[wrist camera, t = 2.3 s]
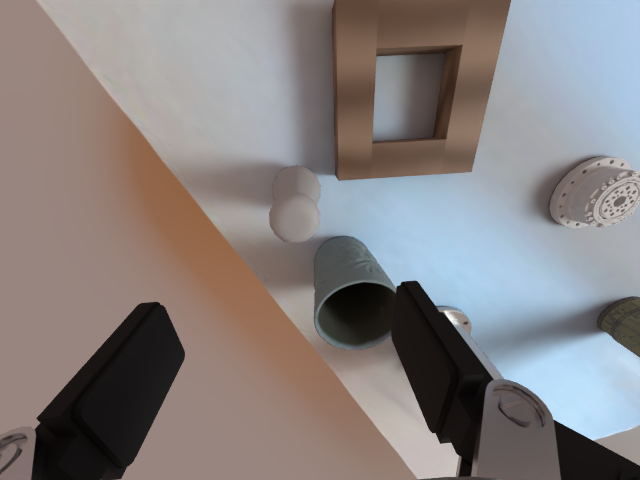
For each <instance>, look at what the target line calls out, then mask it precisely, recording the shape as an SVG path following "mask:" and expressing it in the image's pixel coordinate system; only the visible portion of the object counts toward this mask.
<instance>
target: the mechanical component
mask: <svg viewBox="0 0 640 480" xmlns="http://www.w3.org/2000/svg"><path fill="white" fill-rule="evenodd" d="M639 204H640V172H639V171H633V170H632V168H631V166H630V164H629V163H628V162H627V161H625V160H623V159H621V158H616V157H597V158H592V159H590V160H588V161H585V162H583V163H581V164H579V165H578V166H577V167H575V168H574V169H573V170H571V171H570V172H569V173H568V174H567V175H566V176H565V177H564V178H563V179H562V180H561V181H560V183H559V184H558V185H557V187H556V188H555V191H554V193H553V195H552V197H551V201H550V206H549V209H550V214H551V216H552V218H553V219H554V220H555V221H556V222H557V223H559V224H562V225H564V226H567V227H571V228H581V227H585V226H589V225H591V226H595V227H601V228H603V227H605V226H609V225H611V224H615V225H617V224H618V223H619V221H620V220H621V221H624V220H626V216H631V215H632V214H633V212H632V211H633V210H635V208H636V207H637V206H638V205H639Z"/></svg>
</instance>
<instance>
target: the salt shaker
mask: <svg viewBox="0 0 640 480" xmlns="http://www.w3.org/2000/svg"><path fill="white" fill-rule="evenodd" d="M320 190H321V185H320V183H319V181H318V179H317V176H316V175H315V174H314V173H313V172H311V171H310V170H309V169H308V168H305V167H301V166H297V165H296V166H291V167H287V168H285V169H283V170H282V171H281V172H280V173H278V174H277V175H276V178H275V180H274V183H273V198H274V203H273V205H272V208H271V210H270V212H269V218H270V227H271V228H272V230H273V232H274V233H275V235H276V236H278V237H279V238H280V239H282V240H283V241H285V242H291V243H299V242H305V241H306V240H308V239H309V238H311V237H312V236H313V235H314V234H315V232H316V230H317V229H318V227H319V223H320V212H319V210H318V208H317V203H318V201H319V198H320Z"/></svg>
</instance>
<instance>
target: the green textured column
mask: <svg viewBox="0 0 640 480" xmlns="http://www.w3.org/2000/svg"><path fill="white" fill-rule="evenodd" d="M597 326H598V327H599V328H600V329H601V330H603V331H604V332H606V333H608V334H609V335H611V336H612V337H613V339H614V340H615V341H617V342H618V343H620V344H621V345H623V346H624V347H625V348H627V349H628V350H630V351H631V352H633V353H634V354H636V355H637V356H638V357H640V297H628V298H624V299H622V300H619V301H617V302H615V303H614V304H612V305H610V306H609V307H608V308H607V309H605V310H604V311H603V312H602V314H601V315H600V316H599V318H598V321H597Z"/></svg>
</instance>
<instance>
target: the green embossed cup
mask: <svg viewBox="0 0 640 480" xmlns="http://www.w3.org/2000/svg"><path fill="white" fill-rule="evenodd" d="M314 287H315V306H314V324H315V328H316V330H317V332H318V334H319V335H320V336H321V337H322V338H323V339H324V340H325V341H326V342H327V343H329V344H330V345H332V346H335V347H337V348H341V349H347V350H361V349H367V348H370V347H374V346H376V345H379V344H381V343H383V342H385V341H386V340H388V339H389V338H390V337H391V329H392V321H393V313H394V305H395V297H396V288H395V286H394V285H393V283H392V282H391V280H390V279H389V278H388V276H387V275H386V273H385V272H384V270H383V269H382V268H381V266H380V265H379V264H378V263H377V261H376V259H375V258H374V257H373V255H372V254H371V253H370V252H369V250H368V249H367V247H366V246H365V245H364V243H363V242H361V241H359V240H358V239H355V238H354V237H349V236H347V237H346V236H341V237H336V238H332V239H331V240H328V241H326V242H325V243H324V244H323V245H322V246H321V247H320V248H319V250H318V251H317V253H316V256H315V259H314Z"/></svg>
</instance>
